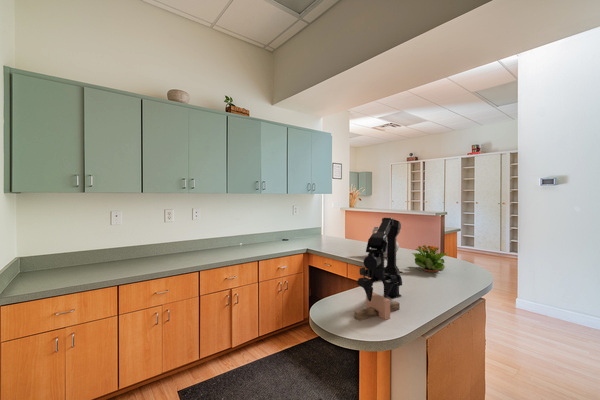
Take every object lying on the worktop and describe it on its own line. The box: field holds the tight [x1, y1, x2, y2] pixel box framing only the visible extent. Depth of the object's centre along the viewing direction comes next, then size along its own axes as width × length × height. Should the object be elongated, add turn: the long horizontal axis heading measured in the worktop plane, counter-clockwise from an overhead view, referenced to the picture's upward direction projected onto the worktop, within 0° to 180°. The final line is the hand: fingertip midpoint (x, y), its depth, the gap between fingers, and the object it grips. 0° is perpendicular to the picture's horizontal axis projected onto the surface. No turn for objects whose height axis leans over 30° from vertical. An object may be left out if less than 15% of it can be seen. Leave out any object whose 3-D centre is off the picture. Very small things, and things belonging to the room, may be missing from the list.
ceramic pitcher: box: [371, 226, 400, 258], centre depth 234 cm, size 22×20×25 cm
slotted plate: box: [365, 291, 391, 320], centre depth 122 cm, size 3×12×8 cm, turn 27°
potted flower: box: [412, 244, 449, 273], centre depth 189 cm, size 25×24×18 cm
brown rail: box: [353, 300, 400, 321], centre depth 122 cm, size 24×2×3 cm, turn 117°
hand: (377, 299), depth 122 cm, fingers open, 9 cm apart
